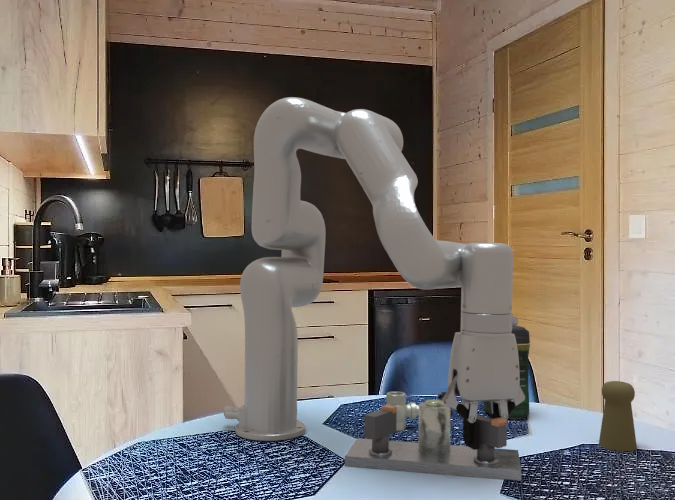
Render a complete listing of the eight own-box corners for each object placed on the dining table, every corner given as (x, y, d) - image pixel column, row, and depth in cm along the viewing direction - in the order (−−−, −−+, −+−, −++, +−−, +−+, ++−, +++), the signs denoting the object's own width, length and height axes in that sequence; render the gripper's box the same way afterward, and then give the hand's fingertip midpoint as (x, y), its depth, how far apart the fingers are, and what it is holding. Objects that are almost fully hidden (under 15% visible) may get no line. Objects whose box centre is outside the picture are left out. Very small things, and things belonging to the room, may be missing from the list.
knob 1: (376, 457, 99) (377, 414, 99) (362, 453, 100) (362, 411, 100) (397, 447, 103) (398, 407, 103) (383, 444, 105) (384, 404, 105)
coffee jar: (536, 419, 130) (536, 325, 130) (499, 421, 128) (500, 326, 128) (511, 408, 139) (512, 320, 139) (477, 410, 137) (478, 321, 137)
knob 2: (464, 455, 100) (464, 413, 100) (475, 452, 101) (475, 410, 101) (496, 465, 95) (497, 421, 95) (507, 462, 97) (508, 418, 97)
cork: (637, 444, 113) (637, 380, 113) (637, 453, 108) (637, 386, 108) (599, 439, 116) (600, 377, 116) (597, 448, 110) (598, 383, 110)
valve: (389, 433, 118) (452, 431, 121) (389, 397, 119) (452, 395, 121) (380, 424, 125) (440, 422, 127) (381, 390, 125) (441, 388, 127)
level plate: (344, 465, 100) (345, 406, 100) (357, 447, 110) (357, 392, 110) (521, 480, 94) (521, 417, 94) (518, 459, 104) (518, 402, 104)
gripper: (519, 321, 105) (517, 435, 105) (425, 322, 100) (422, 442, 100) (548, 326, 97) (545, 449, 97) (448, 328, 92) (445, 458, 92)
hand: (483, 444), depth 99 cm, fingers closed on knob 2, 3 cm apart
